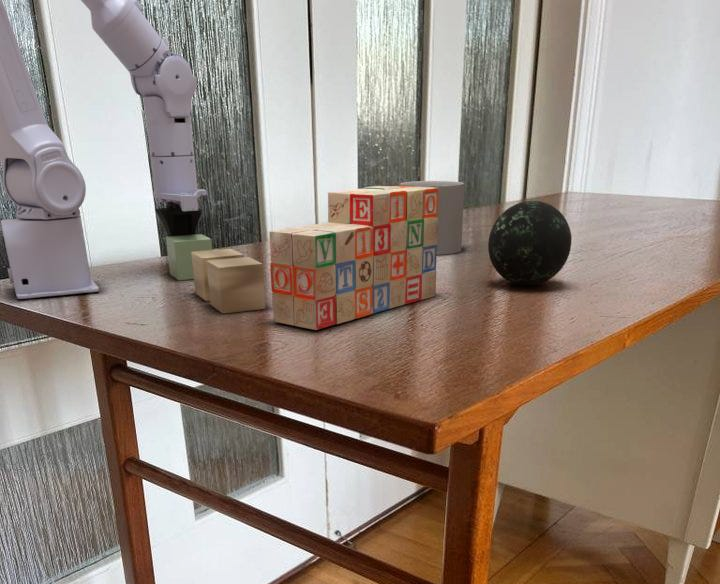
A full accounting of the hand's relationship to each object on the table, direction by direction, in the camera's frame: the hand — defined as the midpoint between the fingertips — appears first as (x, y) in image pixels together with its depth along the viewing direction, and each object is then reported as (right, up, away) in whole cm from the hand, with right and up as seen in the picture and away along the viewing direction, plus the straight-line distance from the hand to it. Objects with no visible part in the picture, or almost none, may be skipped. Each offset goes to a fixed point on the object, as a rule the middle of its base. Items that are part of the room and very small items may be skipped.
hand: (183, 260), depth 106 cm
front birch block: (+11, -11, -20) cm, 25 cm away
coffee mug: (+37, +7, +16) cm, 41 cm away
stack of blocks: (+25, -12, -22) cm, 35 cm away
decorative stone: (+46, -6, -11) cm, 47 cm away
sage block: (+2, -3, -3) cm, 4 cm away
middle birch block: (+8, -8, -14) cm, 18 cm away
